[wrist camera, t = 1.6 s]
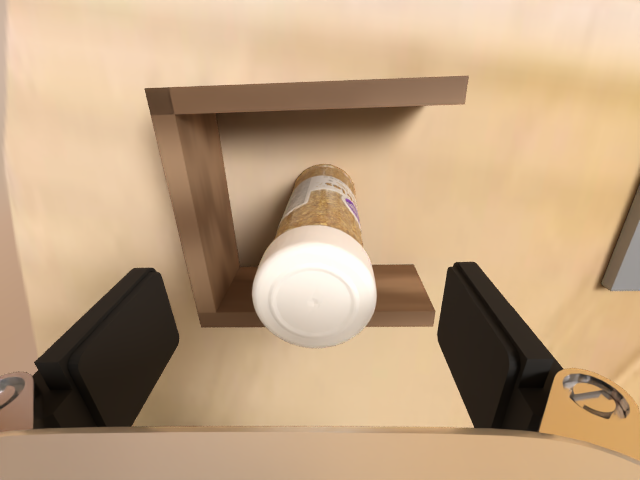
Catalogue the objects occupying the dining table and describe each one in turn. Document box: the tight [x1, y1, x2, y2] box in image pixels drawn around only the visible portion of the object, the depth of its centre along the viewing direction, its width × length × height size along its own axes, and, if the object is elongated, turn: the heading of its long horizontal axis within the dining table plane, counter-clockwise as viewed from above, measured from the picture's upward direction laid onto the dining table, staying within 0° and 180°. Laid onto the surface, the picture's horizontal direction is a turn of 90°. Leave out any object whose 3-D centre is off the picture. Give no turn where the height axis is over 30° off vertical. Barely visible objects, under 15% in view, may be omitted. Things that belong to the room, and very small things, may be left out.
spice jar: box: [252, 164, 377, 348], centre depth 17 cm, size 5×5×13 cm
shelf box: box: [145, 76, 469, 327], centre depth 21 cm, size 14×15×6 cm
